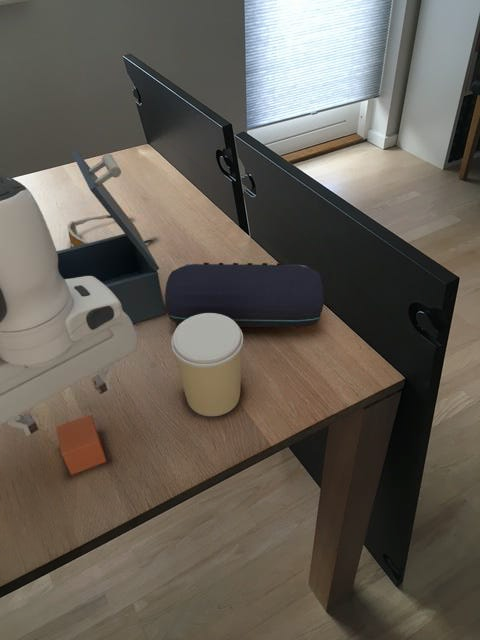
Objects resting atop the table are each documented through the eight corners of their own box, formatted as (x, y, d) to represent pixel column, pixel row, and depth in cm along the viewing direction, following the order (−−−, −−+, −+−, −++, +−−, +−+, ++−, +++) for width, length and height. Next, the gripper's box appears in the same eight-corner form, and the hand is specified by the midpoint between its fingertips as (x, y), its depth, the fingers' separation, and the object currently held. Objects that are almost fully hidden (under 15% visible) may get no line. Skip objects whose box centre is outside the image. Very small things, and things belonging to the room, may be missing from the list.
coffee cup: (254, 379, 79) (252, 318, 71) (233, 428, 73) (228, 368, 65) (195, 365, 82) (187, 305, 74) (170, 412, 75) (158, 352, 67)
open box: (67, 344, 86) (52, 302, 81) (52, 296, 96) (38, 255, 90) (165, 313, 91) (157, 272, 85) (142, 271, 101) (134, 230, 95)
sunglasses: (59, 240, 109) (55, 218, 106) (126, 224, 117) (125, 203, 114) (88, 273, 100) (86, 250, 97) (159, 253, 108) (159, 231, 105)
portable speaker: (320, 300, 92) (324, 252, 86) (323, 340, 85) (327, 291, 78) (175, 298, 94) (168, 251, 87) (166, 338, 87) (157, 289, 80)
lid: (89, 189, 72) (119, 169, 72) (70, 151, 82) (96, 133, 82) (155, 271, 85) (180, 254, 85) (132, 229, 94) (154, 214, 94)
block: (71, 475, 68) (61, 454, 65) (64, 447, 72) (55, 426, 69) (106, 461, 70) (99, 440, 67) (98, 435, 73) (91, 414, 70)
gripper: (-62, 392, 49) (-8, 476, 58) (133, 296, 58) (153, 381, 67) (-81, 355, 52) (-28, 439, 62) (105, 270, 62) (127, 354, 71)
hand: (68, 408), depth 64 cm, fingers open, 8 cm apart
